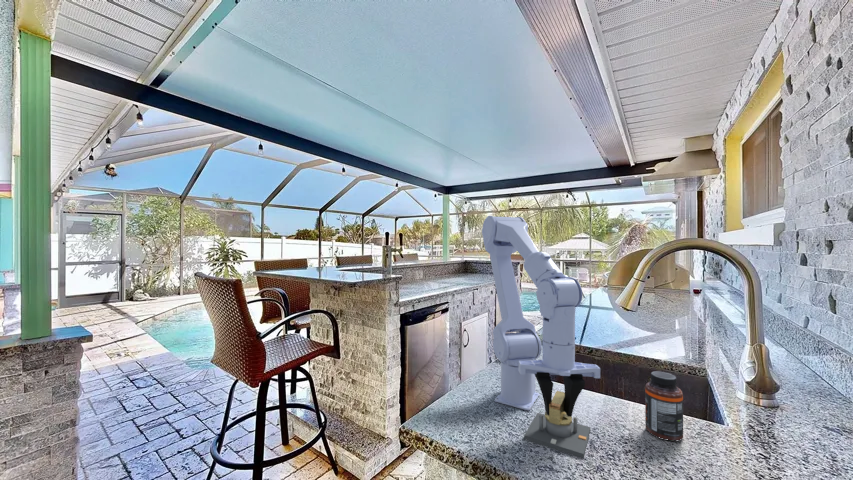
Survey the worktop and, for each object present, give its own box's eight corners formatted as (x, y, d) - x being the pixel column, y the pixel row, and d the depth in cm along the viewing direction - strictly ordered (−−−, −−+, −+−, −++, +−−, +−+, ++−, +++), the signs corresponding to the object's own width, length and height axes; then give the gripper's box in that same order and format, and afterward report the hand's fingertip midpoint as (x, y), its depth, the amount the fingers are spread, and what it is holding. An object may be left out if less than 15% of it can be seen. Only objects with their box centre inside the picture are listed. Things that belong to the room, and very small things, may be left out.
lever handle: (549, 407, 67) (549, 388, 67) (574, 414, 64) (574, 394, 64) (540, 423, 61) (540, 402, 61) (568, 431, 58) (568, 409, 58)
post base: (537, 416, 69) (537, 400, 69) (590, 431, 64) (590, 413, 64) (524, 439, 61) (524, 420, 61) (583, 458, 56) (583, 438, 56)
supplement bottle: (647, 422, 68) (646, 366, 68) (683, 433, 64) (683, 374, 64) (643, 434, 63) (643, 375, 63) (682, 447, 59) (682, 383, 60)
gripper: (523, 345, 60) (523, 421, 59) (607, 349, 58) (607, 427, 58) (516, 335, 67) (516, 403, 66) (591, 338, 65) (591, 407, 65)
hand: (558, 413), depth 63 cm, fingers closed on lever handle, 3 cm apart
